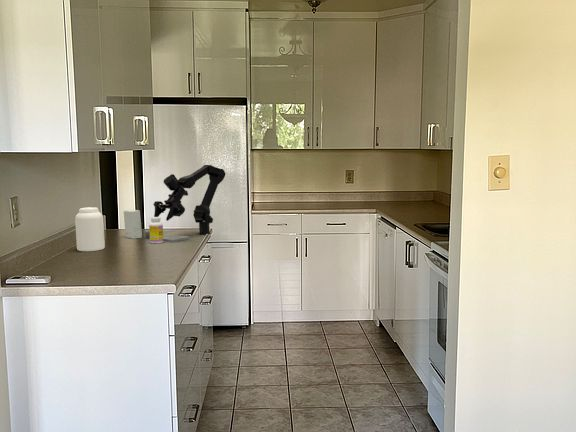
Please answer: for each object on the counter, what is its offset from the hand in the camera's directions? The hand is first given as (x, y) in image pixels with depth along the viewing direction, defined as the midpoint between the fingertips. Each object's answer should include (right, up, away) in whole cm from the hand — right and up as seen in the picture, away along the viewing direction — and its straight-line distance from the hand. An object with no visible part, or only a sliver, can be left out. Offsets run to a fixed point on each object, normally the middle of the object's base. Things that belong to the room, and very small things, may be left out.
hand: (160, 219), depth 274 cm
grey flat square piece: (+5, -10, +8) cm, 14 cm away
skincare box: (-18, -10, +16) cm, 26 cm away
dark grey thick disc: (-7, -10, +14) cm, 19 cm away
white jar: (-29, -14, -17) cm, 37 cm away
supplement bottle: (-2, -12, -1) cm, 12 cm away
